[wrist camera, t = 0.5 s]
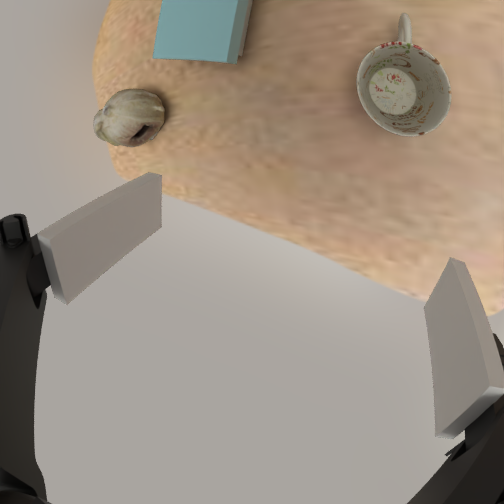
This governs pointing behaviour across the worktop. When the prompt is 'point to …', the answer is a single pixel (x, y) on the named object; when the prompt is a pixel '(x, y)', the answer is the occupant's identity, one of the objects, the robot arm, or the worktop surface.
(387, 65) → the mug
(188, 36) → the lid
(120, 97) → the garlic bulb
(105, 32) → the worktop surface
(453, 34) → the worktop surface
